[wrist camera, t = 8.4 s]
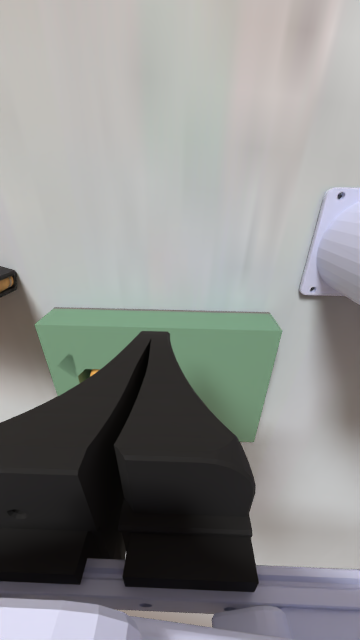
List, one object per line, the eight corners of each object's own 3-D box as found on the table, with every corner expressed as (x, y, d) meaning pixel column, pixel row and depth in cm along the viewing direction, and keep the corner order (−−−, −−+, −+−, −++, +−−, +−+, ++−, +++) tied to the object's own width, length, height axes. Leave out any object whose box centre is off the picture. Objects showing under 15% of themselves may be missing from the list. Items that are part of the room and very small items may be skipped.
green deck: (269, 312, 21) (282, 330, 18) (247, 416, 28) (253, 442, 25) (55, 307, 22) (34, 324, 19) (82, 411, 28) (70, 435, 26)
